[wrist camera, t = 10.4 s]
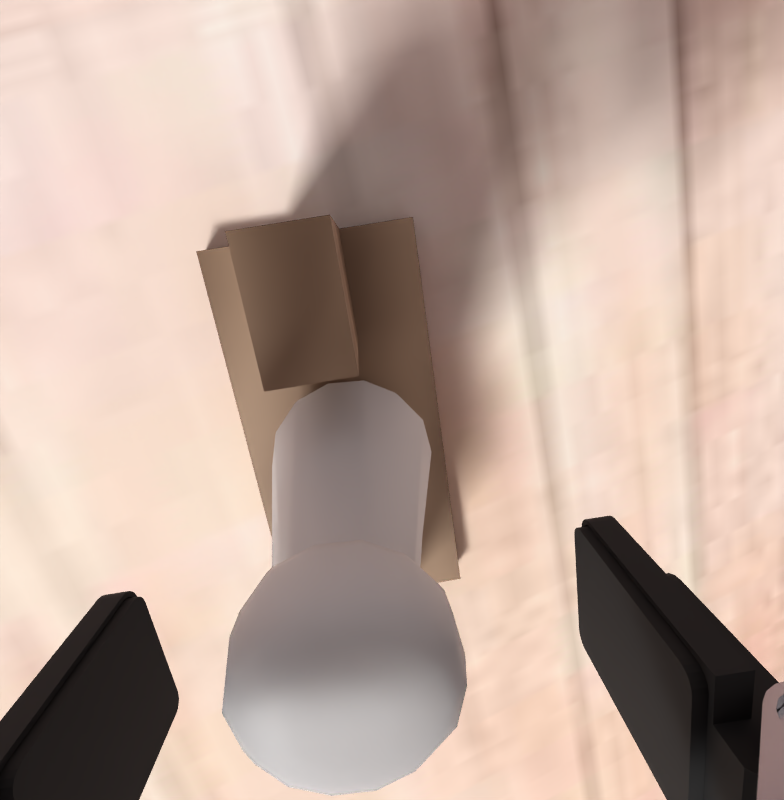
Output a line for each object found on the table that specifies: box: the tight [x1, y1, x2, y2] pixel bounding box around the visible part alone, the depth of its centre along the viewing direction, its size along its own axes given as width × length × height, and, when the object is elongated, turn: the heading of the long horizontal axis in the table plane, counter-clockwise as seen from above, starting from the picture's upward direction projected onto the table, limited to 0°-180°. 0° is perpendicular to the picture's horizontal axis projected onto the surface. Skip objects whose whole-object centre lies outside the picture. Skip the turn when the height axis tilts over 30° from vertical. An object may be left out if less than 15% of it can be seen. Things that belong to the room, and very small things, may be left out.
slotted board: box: [196, 215, 460, 583], centre depth 17 cm, size 8×16×8 cm, turn 9°
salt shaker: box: [222, 380, 467, 796], centre depth 14 cm, size 6×6×13 cm
